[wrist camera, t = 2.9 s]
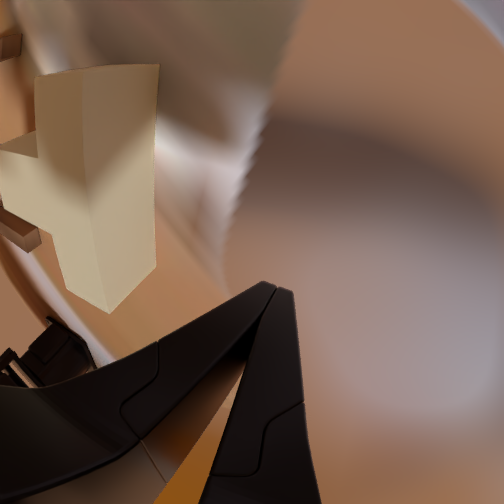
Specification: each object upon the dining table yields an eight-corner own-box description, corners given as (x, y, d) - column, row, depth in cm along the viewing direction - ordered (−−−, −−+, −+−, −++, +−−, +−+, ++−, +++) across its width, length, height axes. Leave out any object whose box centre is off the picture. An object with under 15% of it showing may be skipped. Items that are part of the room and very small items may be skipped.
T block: (156, 265, 16) (109, 314, 12) (62, 224, 17) (18, 256, 14) (160, 64, 10) (82, 71, 7) (49, 71, 11) (-12, 86, 8)
